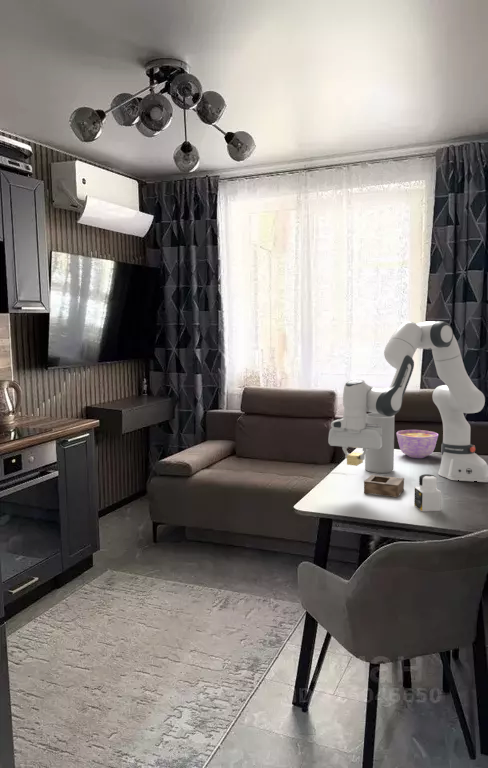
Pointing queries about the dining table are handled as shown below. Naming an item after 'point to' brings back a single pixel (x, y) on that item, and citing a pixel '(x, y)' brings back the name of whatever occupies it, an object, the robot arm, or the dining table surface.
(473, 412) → the robot arm
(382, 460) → the cylinder vase
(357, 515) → the dining table surface
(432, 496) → the medicine bottle
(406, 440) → the bowl of food
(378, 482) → the brown wooden frame
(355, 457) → the brushed brass pillar
